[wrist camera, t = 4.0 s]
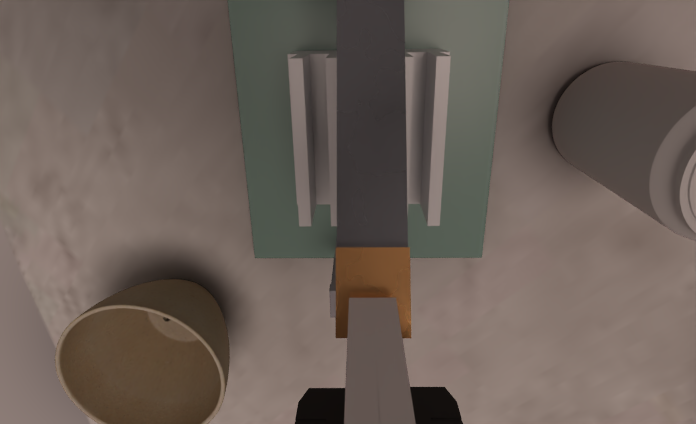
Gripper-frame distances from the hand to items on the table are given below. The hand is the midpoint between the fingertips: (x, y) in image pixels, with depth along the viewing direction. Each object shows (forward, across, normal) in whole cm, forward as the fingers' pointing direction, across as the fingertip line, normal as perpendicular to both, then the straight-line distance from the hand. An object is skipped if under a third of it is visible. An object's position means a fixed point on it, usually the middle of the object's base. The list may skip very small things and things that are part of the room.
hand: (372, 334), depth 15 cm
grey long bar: (+5, 0, +6) cm, 8 cm away
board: (+15, 0, +6) cm, 16 cm away
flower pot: (+17, -13, -9) cm, 23 cm away
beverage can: (+15, +14, +5) cm, 21 cm away
